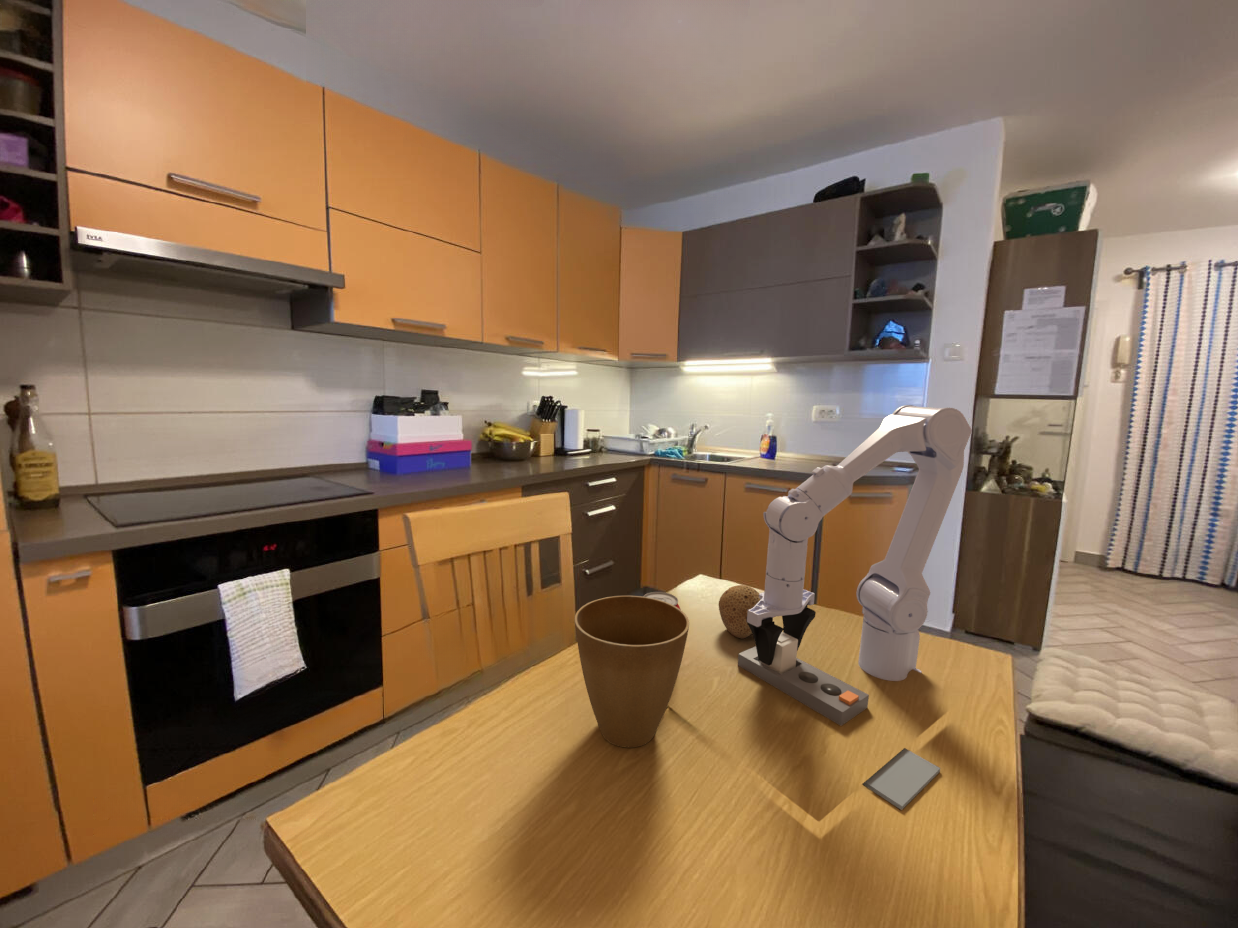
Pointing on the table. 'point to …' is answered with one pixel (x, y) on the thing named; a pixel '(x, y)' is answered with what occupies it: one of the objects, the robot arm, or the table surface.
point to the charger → (784, 654)
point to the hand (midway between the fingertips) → (778, 655)
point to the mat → (902, 778)
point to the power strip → (810, 687)
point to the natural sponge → (737, 609)
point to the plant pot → (630, 663)
